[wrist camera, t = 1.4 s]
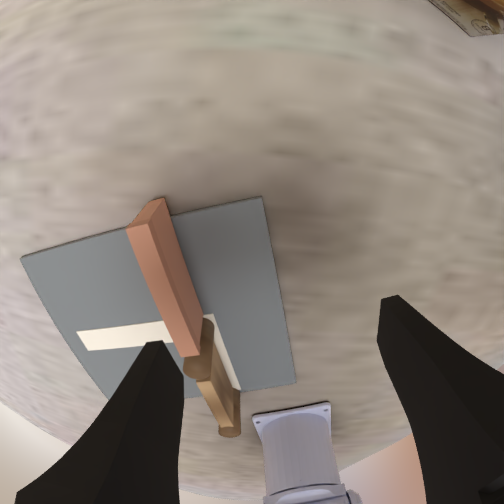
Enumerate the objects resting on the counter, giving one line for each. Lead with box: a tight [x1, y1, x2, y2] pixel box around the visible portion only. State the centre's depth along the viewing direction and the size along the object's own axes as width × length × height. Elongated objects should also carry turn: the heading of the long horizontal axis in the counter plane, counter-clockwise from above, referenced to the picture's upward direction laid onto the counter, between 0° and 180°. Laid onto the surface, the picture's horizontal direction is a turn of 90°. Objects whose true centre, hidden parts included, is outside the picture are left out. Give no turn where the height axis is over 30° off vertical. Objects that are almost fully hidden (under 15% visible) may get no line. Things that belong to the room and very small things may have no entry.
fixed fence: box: [183, 318, 241, 438], centre depth 22 cm, size 10×2×5 cm, turn 11°
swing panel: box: [125, 198, 203, 357], centre depth 18 cm, size 9×1×4 cm, turn 11°
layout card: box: [20, 196, 296, 400], centre depth 23 cm, size 17×19×1 cm
